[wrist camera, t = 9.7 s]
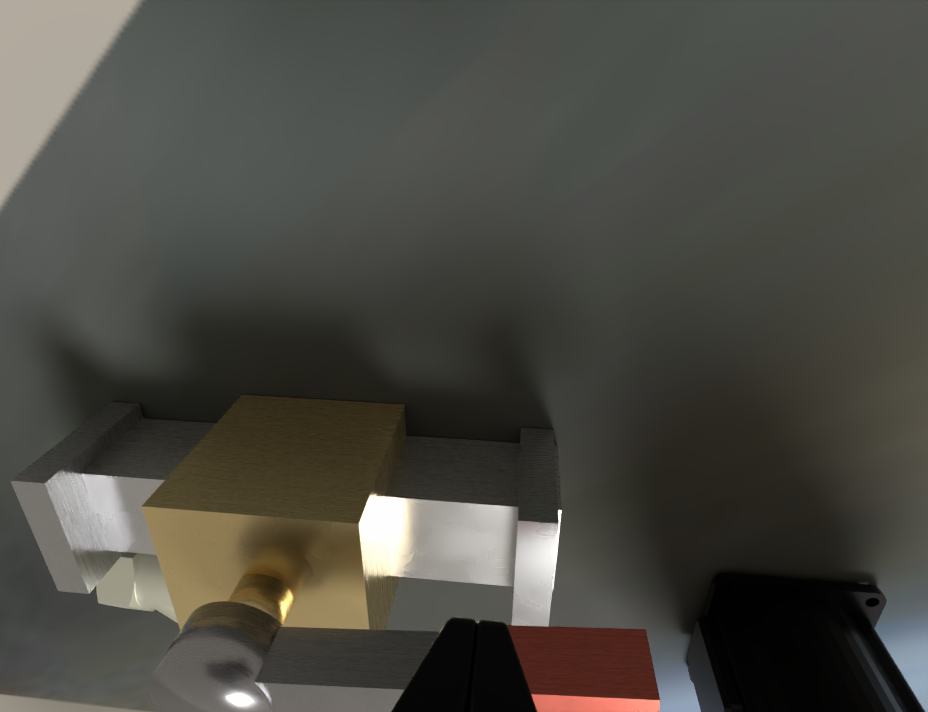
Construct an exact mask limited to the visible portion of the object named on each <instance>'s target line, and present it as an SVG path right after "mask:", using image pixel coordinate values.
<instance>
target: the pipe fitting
mask: <svg viewBox="0 0 928 712" xmlns="http://www.w3.org/2000/svg"><path fill="white" fill-rule="evenodd" d="M96 586H97V597H98V603H101V604H106V605H111V606H116V607H122V608H129V609H137V610H146V611H154V610H158V611H159V612H161V613H162V614H164V615H166V616H167V617H169V618H171V619H172V620H174V621H175V622H177V623H178V621H177V618H176V614H175V611H174V608H173V605H172V602H171V599H170V595H169V592H168V589H167V586H166V583H165V580H164V576H163V573H162V570H161V567H160V564H159V561H158V558H157V555H154V554H142V553H131V552H124V553H123V555H122V556H121V557H120V558H119V559H118V561H117V562H116V563H115V564H114V565H113V566H112V568H111V569H110V570H109V571H108V572H107V573H106V575H105V576H104V577H103V578H102V579H101V581H100V582H99V583H98V584H97V585H96Z"/></svg>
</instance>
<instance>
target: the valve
mask: <svg viewBox="0 0 928 712" xmlns="http://www.w3.org/2000/svg"><path fill="white" fill-rule="evenodd" d="M11 483H12V486H13V488H14V490H15V493H16V495H17V497H18V499H19V502H20V504H21V506H22V509H23V511H24V513H25V516H26V518H27V520H28V522H29V525H30V527H31V529H32V532H33V534H34V536H35V539H36V541H37V543H38V545H39V548H40V550H41V552H42V555H43V557H44V559H45V561H46V564H47V566H48V568H49V571H50V573H51V575H52V578H53V580H54V582H55V584H56V587H57V589H58V591H65V592H75V593H85V594H89V593H90V592H91V591H92V590H93V589H94V588H95V586H96V585H97V584H98V583H99V582H100V581H101V579H102V578H103V577H104V576H105V575H106V573H107V572H108V571H109V570H110V569H111V568H112V566H113V565H114V564H115V563H116V562H117V561H118V559H119V558H120V557H121V556H122V555H123V553H124V552H131V553H142V554H154V555H157V558H158V561H159V564H160V567H161V570H162V573H163V576H164V580H165V583H166V586H167V589H168V592H169V595H170V599H171V602H172V605H173V608H174V611H175V614H176V618H177V621H178V624H179V627H180V630H181V629H182V627H183V626H184V624H185V622H186V621H187V619H188V618H189V616H190V615H191V614H192V612H193V611H194V610H196V609H197V608H199V607H200V606H202V605H205V604H208V603H212V602H219V601H229V602H237V603H243V604H246V605H250V606H253V607H255V608H258V609H260V610H262V611H264V612H266V613H268V614H270V615H271V616H272V617H274V618H275V619H277V620H278V621H279V622H280V623H281V624H282V625H283V626H284V627H309V628H340V629H370V630H386V626H387V622H388V619H389V615H390V611H391V607H392V603H393V600H394V596H395V592H396V588H397V585H398V581H399V577H411V578H422V579H433V580H445V581H456V582H467V583H478V584H489V585H501V586H512V587H513V599H512V625H515V626H547V627H548V625H549V615H550V605H551V595H552V590H553V589H554V579H555V570H556V560H557V550H558V541H559V531H560V521H561V512H562V508H561V493H560V478H559V463H558V447H557V445H554V431H553V430H552V429H536V428H521V438H520V443H512V442H497V441H482V440H466V439H451V438H436V437H421V436H406V419H405V405H404V404H387V403H371V402H354V401H338V400H321V399H305V398H288V397H272V396H255V395H241V396H240V398H239V399H238V400H237V401H236V402H235V403H234V404H233V405H232V406H231V408H230V409H229V410H228V411H227V412H226V413H225V414H224V415H223V416H222V418H221V419H220V420H219V421H218V422H217V423H208V422H192V421H177V420H162V419H147V418H144V417H143V413H142V410H141V406H140V403H124V402H111V403H109V404H108V405H107V406H105V407H104V408H103V409H102V410H100V411H99V412H98V413H96V414H95V415H94V416H93V417H91V418H90V419H89V420H88V421H86V422H85V423H84V424H82V425H81V426H80V427H79V428H77V429H76V430H75V431H73V432H72V433H71V434H70V435H68V436H67V437H66V438H64V439H63V440H62V441H61V442H59V443H58V444H57V445H56V446H54V447H53V448H52V449H50V450H49V451H48V452H47V453H45V454H44V455H43V456H41V457H40V458H39V459H38V460H36V461H35V462H34V463H32V464H31V465H30V466H29V467H27V468H26V469H25V470H24V471H22V472H21V473H20V474H18V475H17V476H16V477H15V478H13V479H12V480H11Z"/></svg>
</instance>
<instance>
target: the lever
mask: <svg viewBox="0 0 928 712" xmlns="http://www.w3.org/2000/svg"><path fill="white" fill-rule="evenodd" d="M477 625H478V624H477ZM507 626H508V629H509V631H510V634H511V637H512V640H513V643H514V646H515V649H516V652H517V655H518V657H519V660H520V663H521V666H522V669H523V672H524V675H525V678H526V681H527V683H528V686H529V689H530V692H531V695H532V698H533V701H534V704H535V707H536V709H537V712H659V706H660V698H659V693H658V688H657V683H656V678H655V673H654V668H653V663H652V658H651V653H650V648H649V643H648V638H647V633H646V630H645V629H613V628H580V627H547V626H515V625H507ZM439 633H440V632H431V631H401V630H370V629H340V628H309V627H284V626H283V625H282V624H281V623H280V622H279V621H278V620H277V619H275V618H274V617H272V616H271V615H270V614H268V613H266V612H264V611H262V610H260V609H258V608H255V607H253V606H250V605H246V604H243V603H237V602H229V601H219V602H212V603H208V604H205V605H202V606H200V607H199V608H197V609H196V610H194V611H193V612H192V614H191V615H190V616H189V618H188V619H187V621H186V622H185V624H184V626H183V627H182V629H181V630H180V632H179V634H178V635H177V637H176V638H175V640H174V641H173V643H172V645H171V646H170V648H169V649H168V651H167V653H166V654H165V656H164V657H163V659H162V660H161V662H160V664H159V665H158V667H157V668H156V670H155V672H154V673H153V675H152V676H151V678H150V680H149V684H148V692H149V696H150V699H151V701H152V703H153V704H154V706H155V707H156V709H157V710H158V711H159V712H391V711H392V709H393V708H394V706H395V704H396V703H397V701H398V700H399V698H400V696H401V695H402V693H403V691H404V690H405V688H406V687H407V685H408V683H409V682H410V680H411V678H412V677H413V675H414V674H415V672H416V670H417V669H418V667H419V665H420V664H421V662H422V660H423V659H424V657H425V656H426V654H427V652H428V651H429V649H430V647H431V646H432V644H433V643H434V641H435V639H436V638H437V636H438V634H439Z"/></svg>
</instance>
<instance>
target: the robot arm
mask: <svg viewBox="0 0 928 712" xmlns="http://www.w3.org/2000/svg"><path fill="white" fill-rule="evenodd" d="M726 585H728V586H726ZM885 604H886V598H885V596H884V595H883V593H882V592H881V590H880V589H879V588H878V587H876V586H872V585H862V584H851V583H839V582H827V581H815V580H803V579H791V578H779V577H767V576H756V575H744V574H732V573H722V574H719V575H717V576H716V577H714V579H713V580H712V583H711V587H710V591H709V594H708V598H707V602H706V605H705V609H704V613H703V615H701V616H700V617H699V618H698V619H697V620H696V624H695V628H694V632H693V635H692V639H691V643H690V647H689V650H688V654H687V660H688V663H689V668H688V672H689V676H690V679H691V681H692V682H693V683H694V686H695V690H696V694H697V698H698V701H699V705H700V709H701V712H925V710H924V709H923V707H922V706H921V704H920V702H919V701H918V699H917V697H916V696H915V694H914V693H913V691H912V689H911V688H910V686H909V684H908V683H907V681H906V679H905V678H904V676H903V675H902V673H901V671H900V670H899V668H898V666H897V665H896V663H895V662H894V660H893V658H892V657H891V655H890V653H889V652H888V650H887V649H886V647H885V645H884V644H883V642H882V640H881V639H880V637H879V636H878V634H877V632H876V631H875V629H874V628H875V625H876V623H877V621H878V619H879V617H880V615H881V613H882V611H883V609H884V606H885ZM391 712H537V709H536V707H535V704H534V701H533V698H532V695H531V692H530V689H529V686H528V683H527V681H526V678H525V675H524V672H523V669H522V666H521V663H520V660H519V657H518V655H517V652H516V649H515V646H514V643H513V640H512V637H511V634H510V631H509V629H508V626H507V625H506V623H504V622H502V621H493V620H481V621H479V622H478V625H477V622H476V620H475V619H472V618H461V617H451V618H449V619H448V620H447V622H446V623H445V625H444V626H443V628H442V630H441V631H440V633H439V634H438V636H437V638H436V639H435V641H434V643H433V644H432V646H431V647H430V649H429V651H428V652H427V654H426V656H425V657H424V659H423V660H422V662H421V664H420V665H419V667H418V669H417V670H416V672H415V674H414V675H413V677H412V678H411V680H410V682H409V683H408V685H407V687H406V688H405V690H404V691H403V693H402V695H401V696H400V698H399V700H398V701H397V703H396V704H395V706H394V708H393V709H392V711H391Z"/></svg>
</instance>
